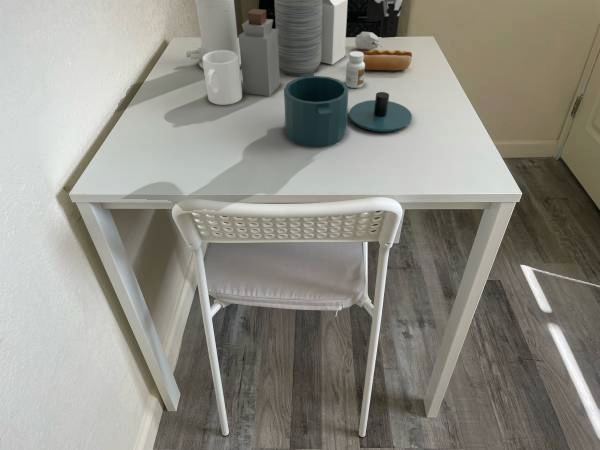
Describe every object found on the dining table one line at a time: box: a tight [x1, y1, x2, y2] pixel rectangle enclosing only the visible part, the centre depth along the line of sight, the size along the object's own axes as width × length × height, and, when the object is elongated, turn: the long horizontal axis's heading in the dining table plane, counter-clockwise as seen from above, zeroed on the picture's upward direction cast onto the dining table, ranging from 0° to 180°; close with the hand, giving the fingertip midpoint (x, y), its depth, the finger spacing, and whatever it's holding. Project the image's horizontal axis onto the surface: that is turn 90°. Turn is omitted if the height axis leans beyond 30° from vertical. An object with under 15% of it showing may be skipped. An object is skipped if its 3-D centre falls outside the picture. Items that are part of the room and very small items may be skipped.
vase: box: [274, 0, 323, 77], centre depth 114 cm, size 12×12×23 cm
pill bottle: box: [345, 50, 365, 89], centre depth 111 cm, size 4×4×8 cm
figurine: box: [354, 31, 383, 51], centre depth 130 cm, size 4×8×5 cm, turn 67°
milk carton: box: [320, 0, 349, 65], centre depth 121 cm, size 7×7×19 cm
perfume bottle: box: [238, 8, 281, 97], centre depth 107 cm, size 7×7×18 cm
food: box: [360, 49, 413, 71], centre depth 120 cm, size 14×6×5 cm, turn 87°
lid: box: [348, 91, 413, 132], centre depth 99 cm, size 14×14×6 cm
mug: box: [202, 50, 243, 106], centre depth 105 cm, size 8×12×10 cm
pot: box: [283, 73, 350, 148], centre depth 94 cm, size 13×18×10 cm
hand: (380, 28), depth 92 cm, fingers open, 9 cm apart
